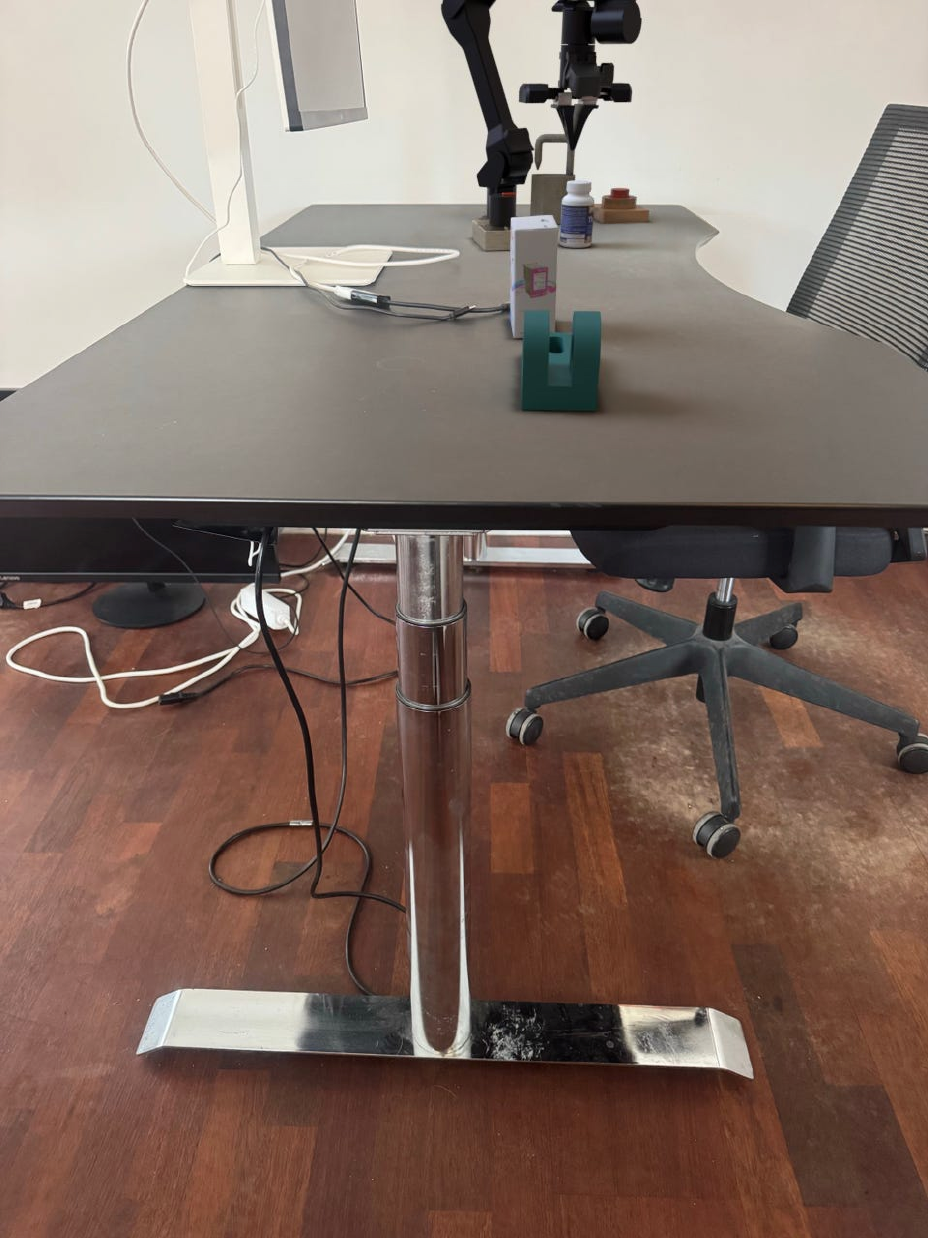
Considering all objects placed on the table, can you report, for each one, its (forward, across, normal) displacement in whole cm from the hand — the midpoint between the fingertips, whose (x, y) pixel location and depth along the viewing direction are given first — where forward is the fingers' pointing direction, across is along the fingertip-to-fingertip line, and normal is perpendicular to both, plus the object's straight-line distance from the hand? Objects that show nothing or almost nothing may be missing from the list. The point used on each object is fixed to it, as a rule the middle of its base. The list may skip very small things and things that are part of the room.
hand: (572, 150), depth 154 cm
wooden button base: (+13, +13, +10) cm, 21 cm away
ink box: (+13, -23, -67) cm, 72 cm away
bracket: (+13, -25, -86) cm, 91 cm away
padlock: (+13, -1, +8) cm, 15 cm away
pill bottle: (+13, -3, -16) cm, 21 cm away
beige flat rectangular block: (+13, -14, -12) cm, 23 cm away
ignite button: (+9, +13, +10) cm, 19 cm away
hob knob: (+10, -15, -12) cm, 22 cm away
